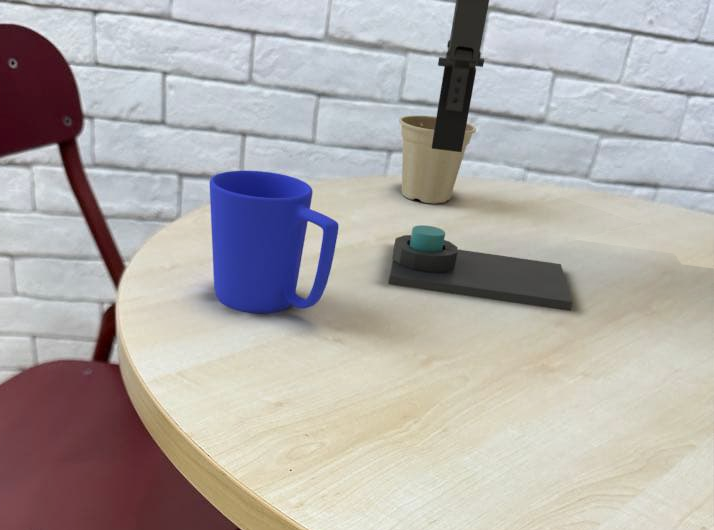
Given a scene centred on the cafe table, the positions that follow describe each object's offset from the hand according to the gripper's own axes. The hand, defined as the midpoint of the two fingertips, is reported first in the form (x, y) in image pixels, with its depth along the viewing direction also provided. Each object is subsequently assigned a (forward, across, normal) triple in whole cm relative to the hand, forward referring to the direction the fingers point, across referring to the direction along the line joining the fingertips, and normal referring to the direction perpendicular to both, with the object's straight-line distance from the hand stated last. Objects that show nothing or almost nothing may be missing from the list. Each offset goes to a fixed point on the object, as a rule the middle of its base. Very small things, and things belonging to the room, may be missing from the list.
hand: (446, 148), depth 77 cm
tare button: (+9, 0, 0) cm, 9 cm away
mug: (+12, +15, -13) cm, 23 cm away
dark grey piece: (+12, 0, +5) cm, 13 cm away
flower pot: (+12, -30, -1) cm, 32 cm away
